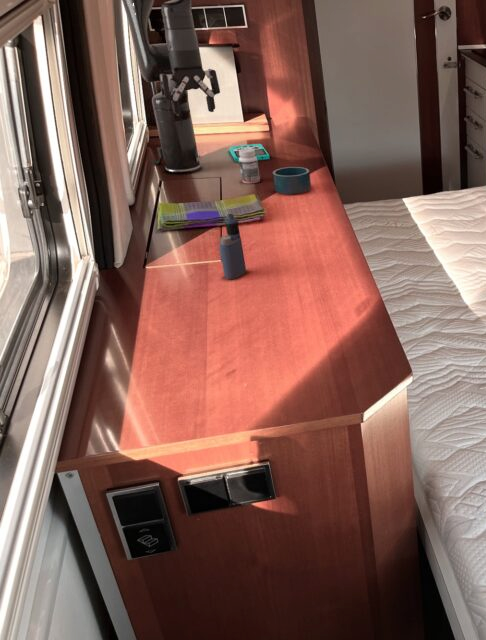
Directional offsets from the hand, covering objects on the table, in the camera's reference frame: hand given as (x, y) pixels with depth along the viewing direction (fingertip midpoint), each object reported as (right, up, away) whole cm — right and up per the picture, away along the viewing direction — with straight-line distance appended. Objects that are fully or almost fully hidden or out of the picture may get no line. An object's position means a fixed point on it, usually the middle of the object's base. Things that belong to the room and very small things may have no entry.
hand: (195, 113), depth 213 cm
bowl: (+26, -20, +1) cm, 33 cm away
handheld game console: (+4, -2, +33) cm, 33 cm away
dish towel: (+12, -31, -19) cm, 38 cm away
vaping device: (+28, -49, -51) cm, 76 cm away
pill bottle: (+12, -16, +8) cm, 22 cm away
